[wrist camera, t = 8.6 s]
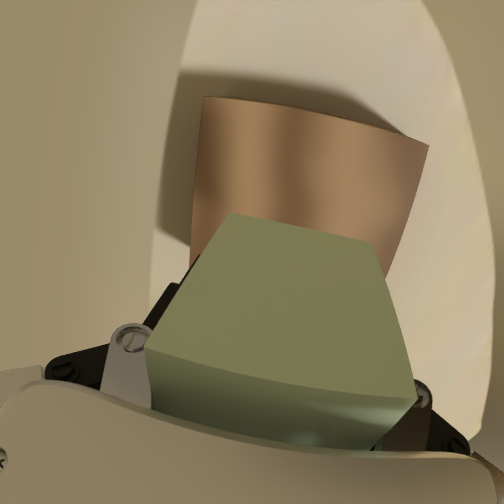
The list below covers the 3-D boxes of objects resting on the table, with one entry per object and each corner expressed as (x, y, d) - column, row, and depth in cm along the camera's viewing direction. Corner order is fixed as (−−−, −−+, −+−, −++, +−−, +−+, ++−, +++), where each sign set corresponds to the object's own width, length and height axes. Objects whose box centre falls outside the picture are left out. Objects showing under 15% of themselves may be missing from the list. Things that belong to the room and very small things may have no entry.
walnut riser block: (406, 135, 20) (429, 145, 16) (358, 289, 27) (364, 324, 22) (225, 97, 21) (203, 96, 17) (207, 256, 28) (188, 287, 24)
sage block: (371, 242, 11) (417, 398, 5) (331, 345, 14) (329, 485, 8) (228, 212, 11) (143, 346, 5) (216, 321, 14) (164, 453, 8)
